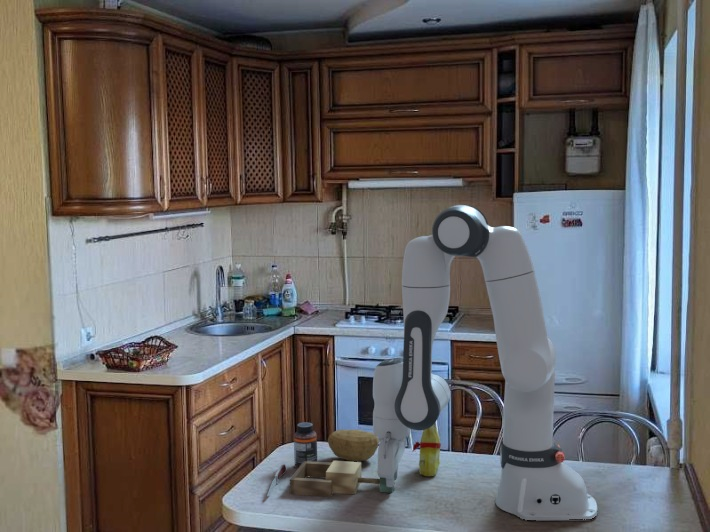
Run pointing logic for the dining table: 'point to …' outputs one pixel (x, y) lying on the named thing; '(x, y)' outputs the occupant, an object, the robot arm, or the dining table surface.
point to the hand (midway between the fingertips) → (391, 482)
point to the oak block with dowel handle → (351, 478)
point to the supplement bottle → (305, 444)
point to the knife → (277, 478)
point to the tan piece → (311, 486)
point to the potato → (353, 444)
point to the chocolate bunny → (429, 451)
